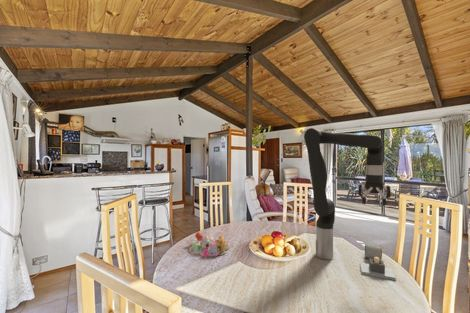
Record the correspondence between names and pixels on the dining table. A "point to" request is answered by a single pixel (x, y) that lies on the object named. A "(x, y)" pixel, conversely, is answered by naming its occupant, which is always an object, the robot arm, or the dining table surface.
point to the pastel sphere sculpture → (208, 246)
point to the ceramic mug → (373, 251)
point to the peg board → (366, 270)
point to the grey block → (377, 266)
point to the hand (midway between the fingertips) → (373, 204)
